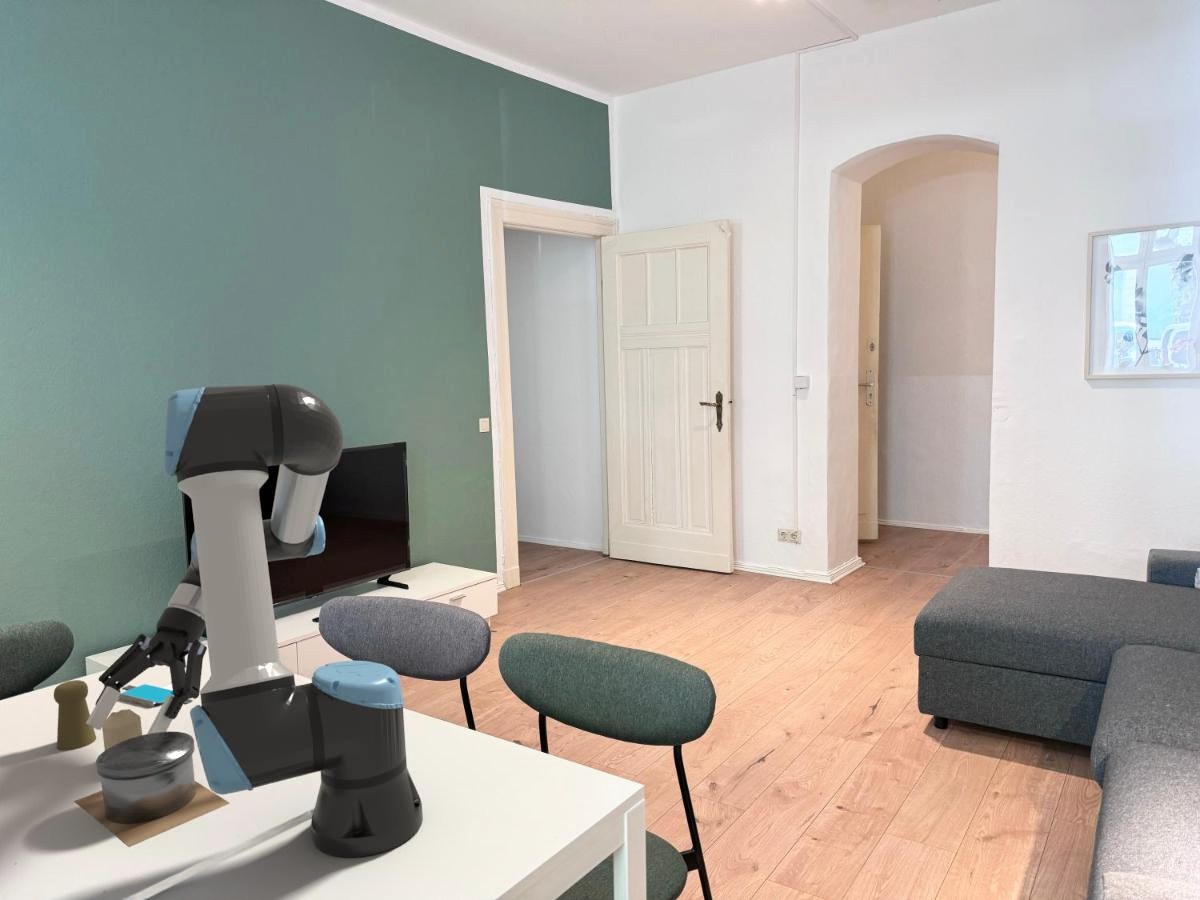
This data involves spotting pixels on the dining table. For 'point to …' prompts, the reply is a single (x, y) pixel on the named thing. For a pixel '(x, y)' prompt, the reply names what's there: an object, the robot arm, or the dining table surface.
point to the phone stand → (147, 694)
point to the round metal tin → (147, 777)
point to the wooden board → (143, 831)
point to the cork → (73, 716)
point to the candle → (121, 727)
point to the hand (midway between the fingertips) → (123, 732)
